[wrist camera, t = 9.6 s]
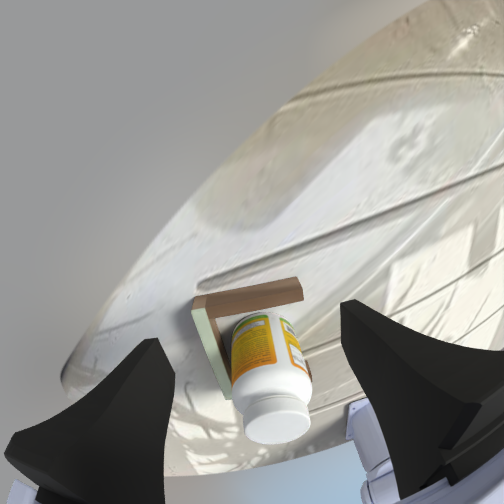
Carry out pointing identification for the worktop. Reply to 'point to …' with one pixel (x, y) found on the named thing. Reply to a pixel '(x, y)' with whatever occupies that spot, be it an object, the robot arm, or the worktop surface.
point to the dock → (233, 304)
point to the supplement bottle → (269, 379)
